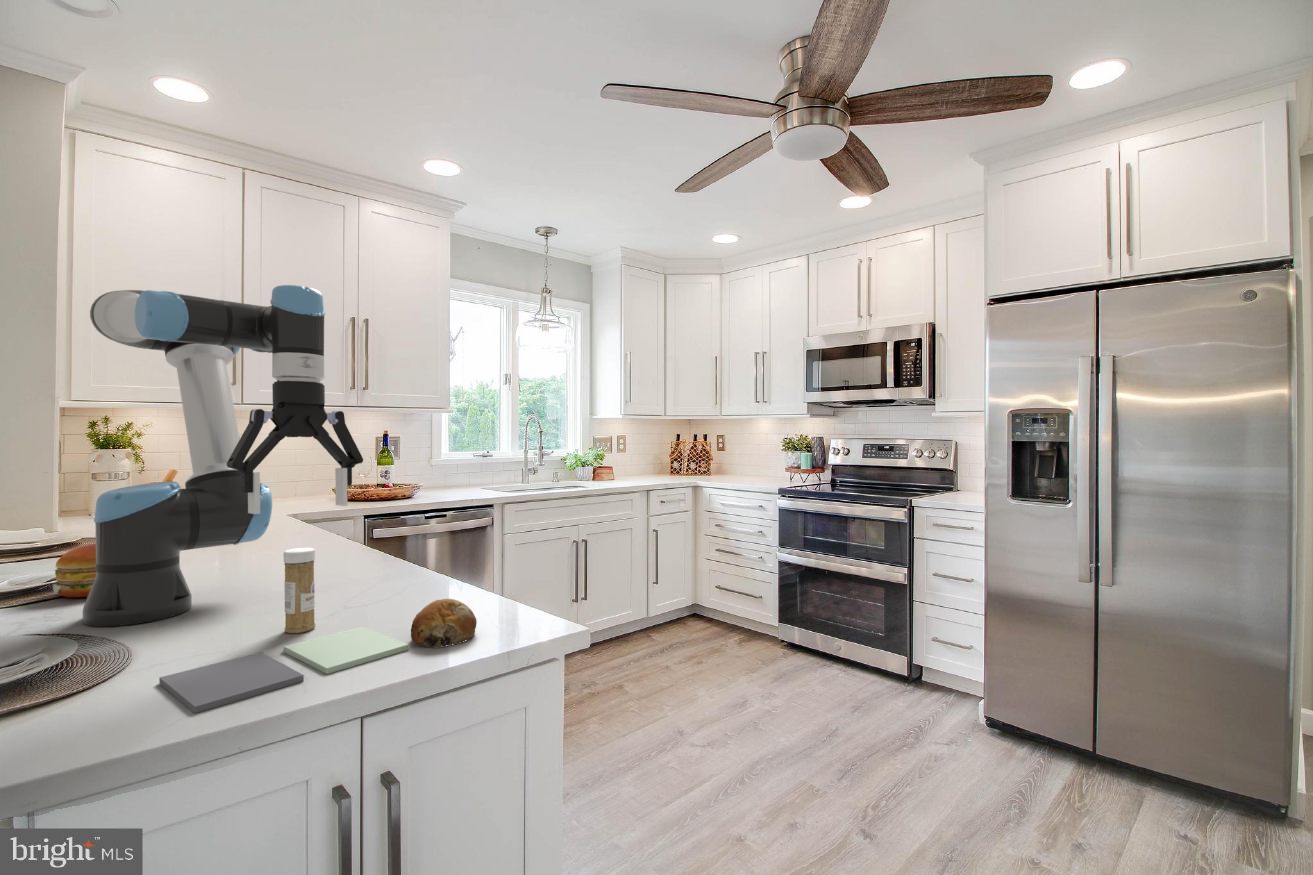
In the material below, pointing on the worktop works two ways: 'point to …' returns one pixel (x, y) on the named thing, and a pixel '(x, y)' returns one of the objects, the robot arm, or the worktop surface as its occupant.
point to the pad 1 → (229, 681)
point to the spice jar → (299, 590)
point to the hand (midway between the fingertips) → (300, 509)
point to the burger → (76, 572)
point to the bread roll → (443, 624)
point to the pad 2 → (345, 649)
